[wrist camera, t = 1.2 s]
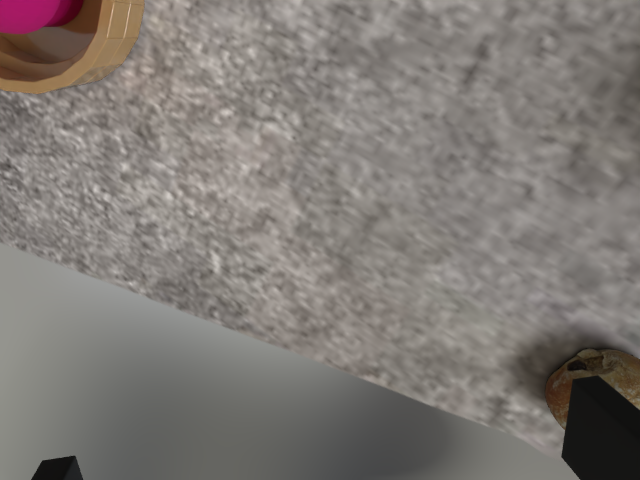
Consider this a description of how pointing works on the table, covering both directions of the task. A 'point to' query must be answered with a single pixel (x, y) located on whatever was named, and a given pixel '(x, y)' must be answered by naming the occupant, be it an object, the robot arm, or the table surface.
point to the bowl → (71, 48)
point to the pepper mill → (36, 14)
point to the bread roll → (611, 365)
